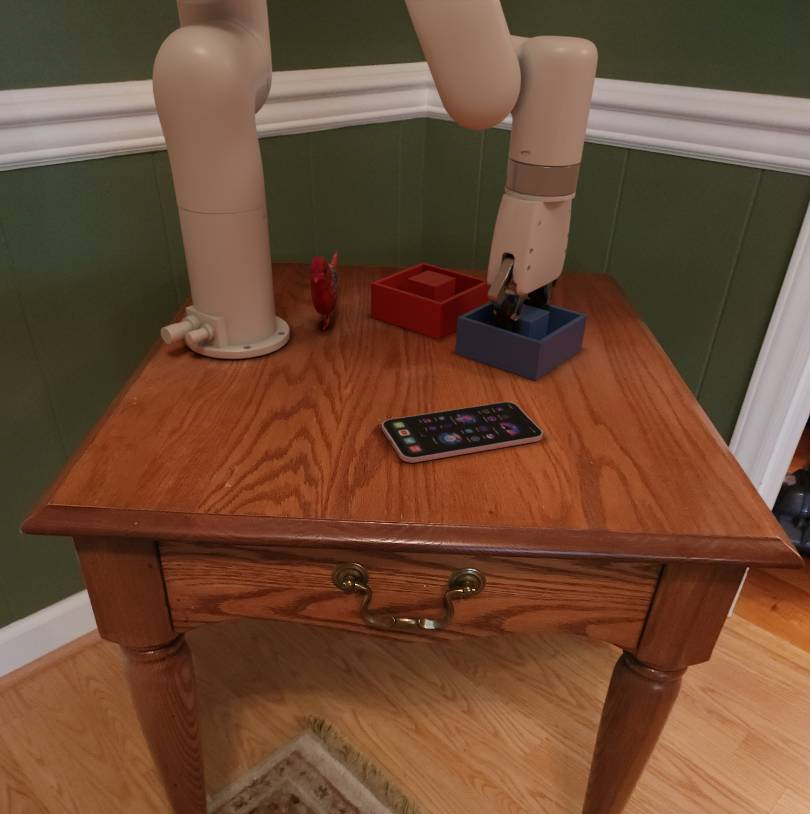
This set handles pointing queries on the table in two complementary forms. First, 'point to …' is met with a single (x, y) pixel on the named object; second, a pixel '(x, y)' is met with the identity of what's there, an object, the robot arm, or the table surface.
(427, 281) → the red block
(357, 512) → the table surface
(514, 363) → the blue bin
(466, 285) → the red bin
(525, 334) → the blue block
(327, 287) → the decorative bird figurine
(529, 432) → the smartphone
